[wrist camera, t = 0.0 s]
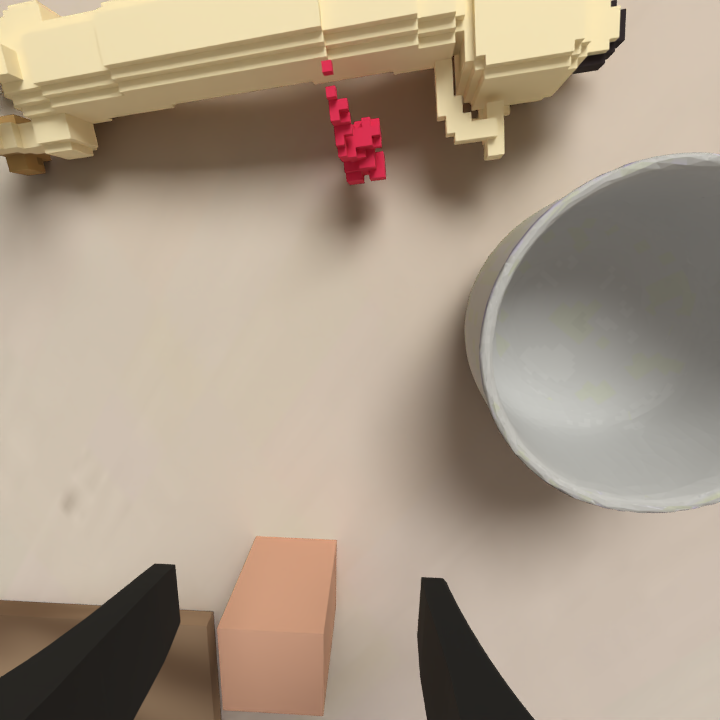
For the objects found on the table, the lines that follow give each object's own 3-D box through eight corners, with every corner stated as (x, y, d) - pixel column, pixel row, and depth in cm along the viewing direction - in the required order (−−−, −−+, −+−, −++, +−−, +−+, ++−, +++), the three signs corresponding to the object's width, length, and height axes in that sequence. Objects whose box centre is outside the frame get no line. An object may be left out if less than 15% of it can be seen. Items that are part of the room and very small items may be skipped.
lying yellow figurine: (72, 226, 21) (604, 159, 18) (-153, 211, 13) (779, 77, 9) (13, -6, 19) (616, -139, 15) (-310, -212, 10) (864, -616, 7)
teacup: (504, 456, 22) (575, 568, 14) (403, 270, 20) (419, 282, 12) (779, 323, 20) (1044, 368, 12) (698, 98, 18) (953, -26, 10)
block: (335, 606, 25) (323, 716, 19) (259, 602, 25) (223, 710, 19) (336, 539, 23) (323, 633, 18) (256, 536, 24) (216, 628, 18)
